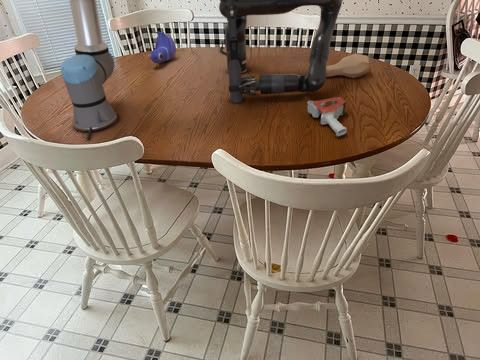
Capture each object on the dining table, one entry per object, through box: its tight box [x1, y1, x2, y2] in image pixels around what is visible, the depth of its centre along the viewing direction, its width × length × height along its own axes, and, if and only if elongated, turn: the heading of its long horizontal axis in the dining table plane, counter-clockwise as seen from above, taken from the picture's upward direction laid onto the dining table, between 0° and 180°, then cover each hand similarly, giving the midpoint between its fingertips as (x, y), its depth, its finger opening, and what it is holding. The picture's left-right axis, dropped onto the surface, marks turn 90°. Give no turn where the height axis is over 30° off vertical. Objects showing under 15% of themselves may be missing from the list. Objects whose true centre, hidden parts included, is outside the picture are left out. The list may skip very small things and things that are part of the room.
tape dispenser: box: [307, 96, 348, 137], centre depth 123 cm, size 18×5×20 cm
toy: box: [149, 30, 177, 68], centre depth 183 cm, size 10×17×25 cm
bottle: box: [228, 59, 244, 104], centre depth 138 cm, size 5×5×18 cm
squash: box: [326, 52, 370, 79], centre depth 156 cm, size 11×20×9 cm, turn 92°
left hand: (233, 56), depth 133 cm, fingers open, 6 cm apart
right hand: (229, 86), depth 140 cm, fingers closed on bottle, 5 cm apart
